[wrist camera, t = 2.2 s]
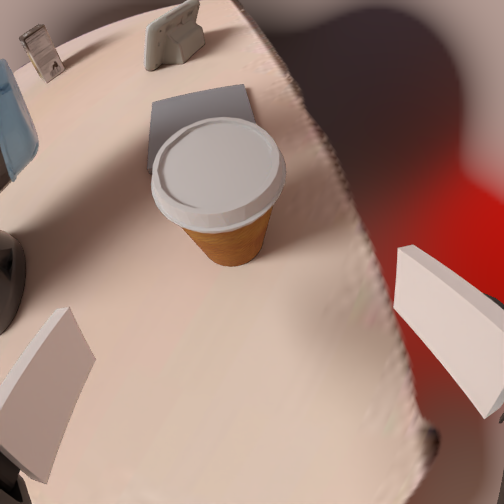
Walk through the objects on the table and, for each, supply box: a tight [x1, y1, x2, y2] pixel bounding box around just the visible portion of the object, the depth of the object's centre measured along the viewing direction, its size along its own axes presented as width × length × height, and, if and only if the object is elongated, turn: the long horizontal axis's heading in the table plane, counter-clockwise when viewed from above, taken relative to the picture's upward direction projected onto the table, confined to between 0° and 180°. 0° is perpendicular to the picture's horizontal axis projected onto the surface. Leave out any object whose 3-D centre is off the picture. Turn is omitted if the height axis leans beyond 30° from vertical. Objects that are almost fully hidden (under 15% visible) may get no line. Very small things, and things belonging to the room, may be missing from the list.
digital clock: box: [144, 0, 205, 71], centre depth 41 cm, size 16×9×11 cm, turn 148°
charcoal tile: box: [147, 84, 256, 174], centre depth 36 cm, size 14×14×1 cm
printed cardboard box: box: [19, 25, 65, 83], centre depth 43 cm, size 9×6×16 cm
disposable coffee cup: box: [151, 117, 286, 267], centre depth 24 cm, size 10×10×12 cm
